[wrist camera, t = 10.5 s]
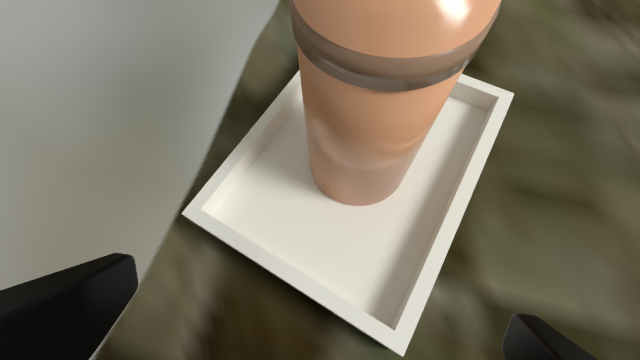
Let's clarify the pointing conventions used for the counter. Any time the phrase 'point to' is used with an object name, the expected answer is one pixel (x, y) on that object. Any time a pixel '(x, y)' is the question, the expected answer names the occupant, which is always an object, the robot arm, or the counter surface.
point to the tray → (352, 212)
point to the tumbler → (378, 84)
